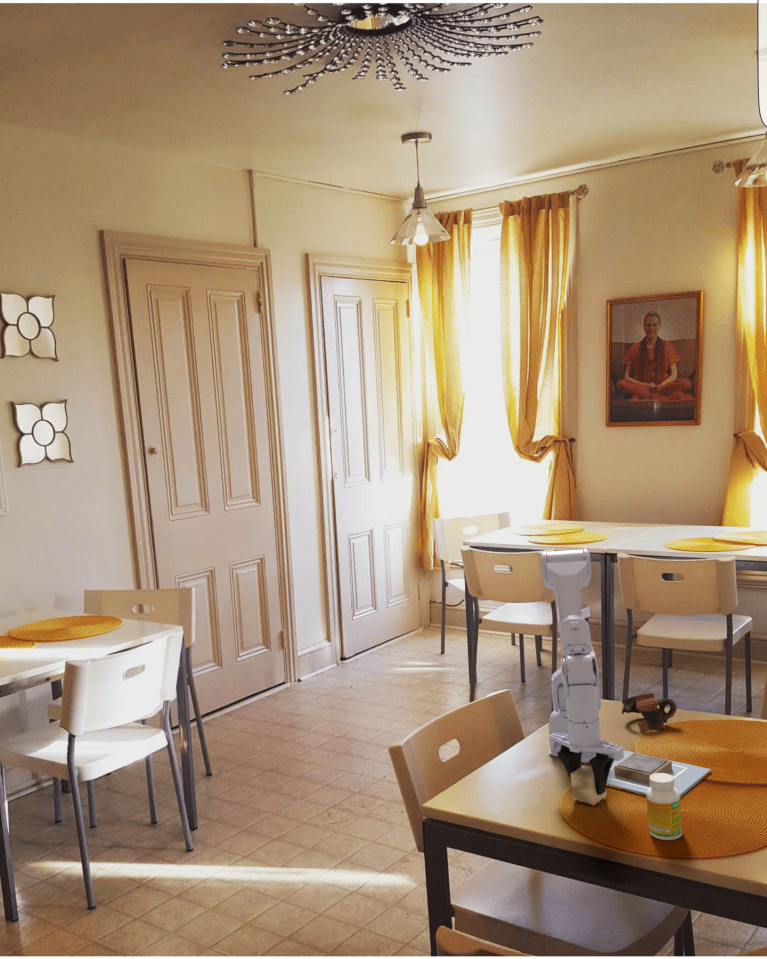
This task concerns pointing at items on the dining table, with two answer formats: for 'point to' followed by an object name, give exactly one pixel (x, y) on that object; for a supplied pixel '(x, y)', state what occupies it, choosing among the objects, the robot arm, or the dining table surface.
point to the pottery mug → (649, 710)
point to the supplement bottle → (664, 807)
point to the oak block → (585, 786)
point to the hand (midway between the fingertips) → (588, 789)
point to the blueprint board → (678, 782)
